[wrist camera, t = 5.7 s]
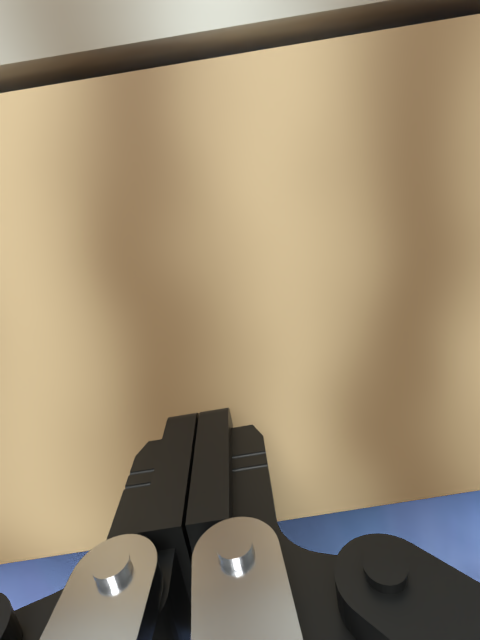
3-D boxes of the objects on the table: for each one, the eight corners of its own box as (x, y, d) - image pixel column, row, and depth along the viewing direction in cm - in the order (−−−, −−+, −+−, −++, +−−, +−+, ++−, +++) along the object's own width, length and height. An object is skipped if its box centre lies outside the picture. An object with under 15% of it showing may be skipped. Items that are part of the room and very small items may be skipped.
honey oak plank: (565, 27, 10) (644, -14, 8) (539, 435, 14) (591, 472, 12) (-275, 166, 10) (-387, 157, 9) (-97, 533, 14) (-149, 587, 12)
